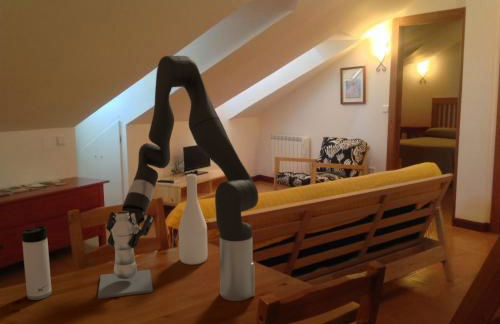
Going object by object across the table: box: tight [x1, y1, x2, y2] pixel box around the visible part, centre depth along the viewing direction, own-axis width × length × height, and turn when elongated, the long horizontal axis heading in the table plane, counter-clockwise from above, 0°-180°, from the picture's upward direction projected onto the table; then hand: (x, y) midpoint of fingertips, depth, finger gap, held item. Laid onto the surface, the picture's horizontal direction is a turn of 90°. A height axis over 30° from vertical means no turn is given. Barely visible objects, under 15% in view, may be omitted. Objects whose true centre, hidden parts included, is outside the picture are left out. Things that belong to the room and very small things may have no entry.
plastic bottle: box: [112, 210, 138, 279], centre depth 127 cm, size 6×7×20 cm
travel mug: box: [21, 225, 52, 301], centre depth 120 cm, size 6×7×20 cm
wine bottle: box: [178, 173, 208, 266], centre depth 145 cm, size 10×10×30 cm
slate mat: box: [97, 269, 153, 300], centre depth 129 cm, size 15×15×1 cm
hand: (121, 246), depth 125 cm, fingers closed on plastic bottle, 6 cm apart
